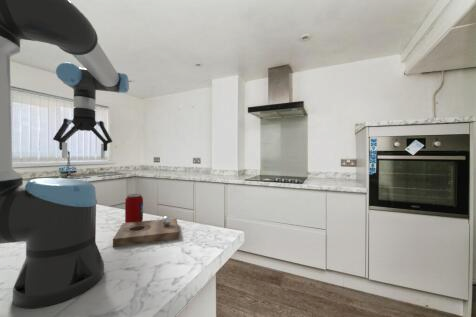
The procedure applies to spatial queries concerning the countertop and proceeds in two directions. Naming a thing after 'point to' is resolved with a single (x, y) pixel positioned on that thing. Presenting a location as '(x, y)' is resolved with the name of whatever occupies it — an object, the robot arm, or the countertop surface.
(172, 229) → the block
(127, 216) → the beverage can
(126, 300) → the countertop surface
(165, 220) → the ball
